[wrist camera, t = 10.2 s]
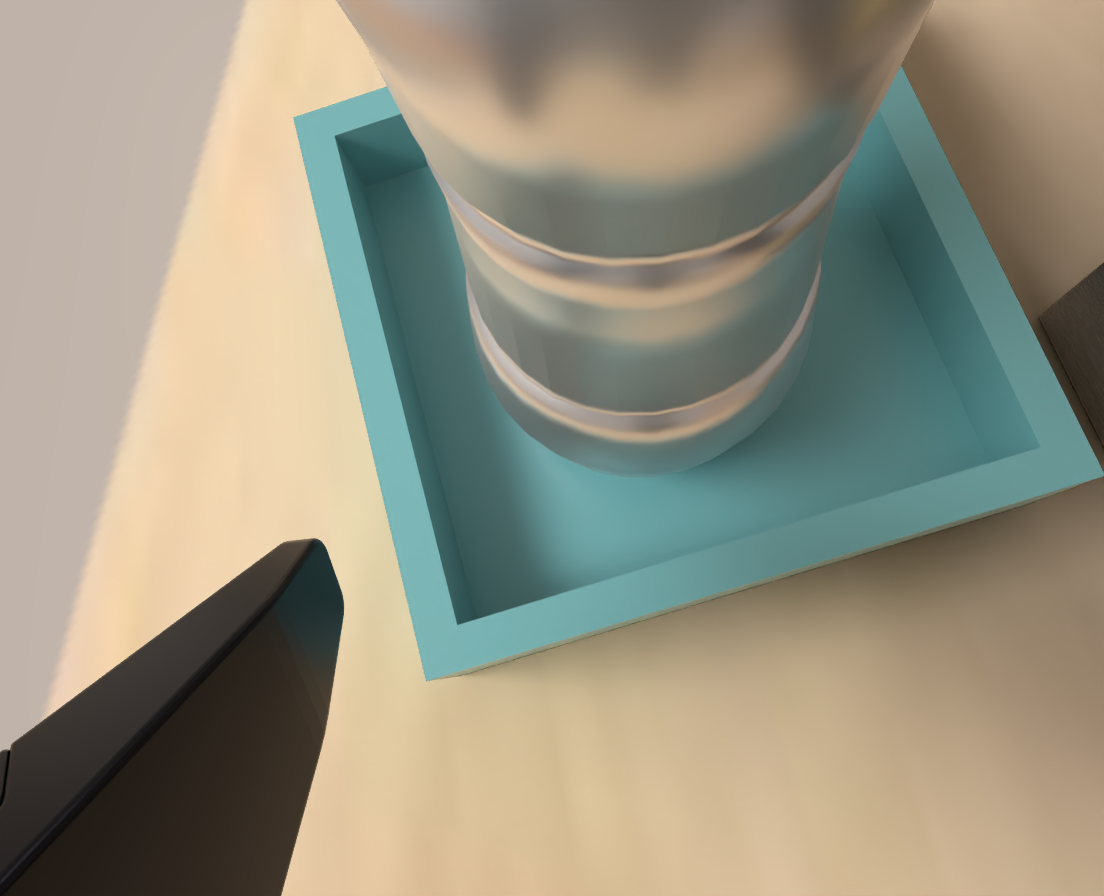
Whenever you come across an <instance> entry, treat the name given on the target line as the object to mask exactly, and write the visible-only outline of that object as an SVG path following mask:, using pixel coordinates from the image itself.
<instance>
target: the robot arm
mask: <svg viewBox="0 0 1104 896" xmlns="http://www.w3.org/2000/svg"><path fill="white" fill-rule="evenodd" d="M343 616H344V600H343V595H342V592H341V589H340V586H339V583H338V580H337V577H336V575H335V572H334V569H333V566H332V563H331V560H330V558H329V555H328V552H327V549H326V547H325V546H324V544H323V543H322V541H320V540H318V539H316V538H313V539H303V540H294V541H286V542H283V543H282V544H280V545H279V546H277V547H276V548H275V549H273V550H272V551H271V552H269V553H268V554H267V555H265V556H264V557H263V558H261V559H260V560H259V561H257V562H256V563H255V564H253V565H252V566H250V567H249V568H248V569H246V570H245V571H244V572H242V573H241V574H240V575H238V576H237V577H236V578H234V579H233V580H232V581H230V582H229V583H228V584H226V585H225V586H224V587H222V588H221V589H220V590H218V591H217V592H215V593H214V594H213V595H211V596H210V597H209V598H207V599H206V600H205V601H203V602H202V603H201V604H199V605H198V606H197V607H195V608H194V609H193V610H191V611H190V612H189V613H187V614H186V615H184V616H183V617H182V618H180V619H179V620H178V621H176V622H175V623H174V624H172V625H171V626H170V627H168V628H167V629H166V630H164V631H163V632H162V633H160V634H159V635H158V636H156V637H155V638H154V639H152V640H151V641H149V642H148V643H147V644H145V645H144V646H143V647H141V648H140V649H139V650H137V651H136V652H135V653H133V654H132V655H131V656H129V657H128V658H127V659H125V660H124V661H123V662H121V663H120V664H118V665H117V666H116V667H114V668H113V669H112V670H110V671H109V672H108V673H106V674H105V675H104V676H102V677H101V678H100V679H98V680H97V681H96V682H94V683H93V684H92V685H90V686H89V687H88V688H86V689H85V690H83V691H82V692H81V693H79V694H78V695H77V696H75V697H74V698H73V699H71V700H70V701H69V702H67V703H66V704H65V705H63V706H62V707H61V708H59V709H58V710H57V711H55V712H54V713H52V714H51V715H50V716H48V717H47V718H46V719H44V720H43V721H42V722H40V723H39V724H38V725H36V726H35V727H34V728H32V729H31V730H30V731H28V732H27V733H26V734H24V735H23V736H22V737H20V738H19V739H17V740H16V741H15V742H14V743H12V745H11V748H10V750H7V749H6V750H3V751H1V752H0V896H281V894H282V891H283V887H284V883H285V880H286V876H287V872H288V869H289V865H290V861H291V858H292V854H293V850H294V847H295V843H296V839H297V836H298V832H299V828H300V825H301V821H302V818H303V814H304V810H305V807H306V803H307V799H308V796H309V792H310V788H311V785H312V781H313V777H314V774H315V770H316V766H317V763H318V759H319V755H320V752H321V748H322V743H323V739H324V735H325V731H326V725H327V720H328V714H329V708H330V701H331V695H332V688H333V682H334V675H335V669H336V662H337V655H338V649H339V642H340V636H341V629H342V623H343Z"/></svg>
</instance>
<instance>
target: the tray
mask: <svg viewBox="0 0 1104 896" xmlns="http://www.w3.org/2000/svg"><path fill="white" fill-rule="evenodd" d="M294 122H295V127H296V131H297V135H298V139H299V144H300V148H301V152H302V156H303V161H304V165H305V169H306V173H307V178H308V182H309V186H310V190H311V195H312V199H313V203H314V207H315V211H316V216H317V220H318V224H319V228H320V233H321V237H322V241H323V245H324V250H325V254H326V258H327V262H328V267H329V271H330V275H331V279H332V284H333V288H334V292H335V296H336V301H337V305H338V309H339V313H340V318H341V322H342V326H343V330H344V335H345V339H346V343H347V347H348V352H349V356H350V360H351V364H352V368H353V373H354V377H355V381H356V385H357V390H358V394H359V398H360V402H361V407H362V411H363V415H364V419H365V424H366V428H367V432H368V436H369V441H370V445H371V449H372V453H373V458H374V462H375V466H376V470H377V475H378V479H379V483H380V487H381V492H382V496H383V500H384V504H385V509H386V513H387V517H388V521H389V525H390V530H391V534H392V538H393V542H394V547H395V551H396V555H397V559H398V564H399V568H400V572H401V576H402V581H403V585H404V589H405V593H406V598H407V602H408V606H409V610H410V615H411V619H412V623H413V627H414V632H415V636H416V640H417V644H418V649H419V653H420V657H421V661H422V666H423V670H424V674H425V678H426V681H431V680H437V679H444V678H450V677H457V676H462V675H465V674H468V673H472V672H475V671H478V670H482V669H485V668H488V667H492V666H495V665H498V664H501V663H505V662H508V661H511V660H515V659H518V658H521V657H525V656H528V655H531V654H534V653H538V652H541V651H544V650H548V649H551V648H554V647H558V646H561V645H564V644H567V643H571V642H574V641H577V640H581V639H584V638H587V637H591V636H594V635H597V634H601V633H604V632H607V631H610V630H614V629H617V628H620V627H624V626H627V625H630V624H634V623H637V622H640V621H643V620H647V619H650V618H653V617H657V616H660V615H663V614H667V613H670V612H673V611H677V610H680V609H683V608H686V607H690V606H693V605H696V604H700V603H703V602H706V601H710V600H713V599H716V598H719V597H723V596H726V595H729V594H733V593H736V592H739V591H743V590H746V589H749V588H753V587H756V586H759V585H762V584H766V583H769V582H772V581H776V580H779V579H782V578H786V577H789V576H792V575H795V574H799V573H802V572H805V571H809V570H812V569H815V568H819V567H822V566H825V565H829V564H832V563H835V562H838V561H842V560H845V559H848V558H852V557H855V556H858V555H862V554H865V553H868V552H871V551H875V550H878V549H881V548H885V547H888V546H891V545H895V544H898V543H901V542H905V541H908V540H911V539H914V538H918V537H921V536H924V535H928V534H931V533H934V532H938V531H941V530H944V529H947V528H951V527H954V526H957V525H961V524H964V523H967V522H971V521H974V520H977V519H980V518H984V517H987V516H990V515H994V514H997V513H1000V512H1004V511H1007V510H1010V509H1014V508H1017V507H1020V506H1023V505H1027V504H1030V503H1033V502H1035V501H1038V500H1041V499H1044V498H1046V497H1049V496H1052V495H1054V494H1057V493H1060V492H1062V491H1065V490H1068V489H1070V488H1073V487H1076V486H1079V485H1081V484H1084V483H1087V482H1089V481H1092V480H1095V479H1097V478H1100V477H1103V476H1104V472H1103V470H1102V468H1101V466H1100V464H1099V462H1098V460H1097V458H1096V456H1095V454H1094V452H1093V450H1092V448H1091V446H1090V444H1089V442H1088V440H1087V438H1086V436H1085V434H1084V432H1083V430H1082V428H1081V426H1080V424H1079V422H1078V420H1077V418H1076V416H1075V414H1074V412H1073V410H1072V408H1071V406H1070V404H1069V402H1068V400H1067V398H1066V396H1065V394H1064V392H1063V390H1062V388H1061V386H1060V384H1059V382H1058V380H1057V378H1056V376H1055V374H1054V372H1053V370H1052V368H1051V366H1050V364H1049V362H1048V360H1047V358H1046V356H1045V354H1044V352H1043V350H1042V348H1041V346H1040V344H1039V342H1038V339H1037V337H1036V335H1035V333H1034V331H1033V329H1032V327H1031V325H1030V323H1029V321H1028V319H1027V317H1026V315H1025V313H1024V311H1023V309H1022V307H1021V305H1020V303H1019V301H1018V299H1017V297H1016V295H1015V293H1014V291H1013V289H1012V287H1011V285H1010V283H1009V281H1008V279H1007V277H1006V275H1005V273H1004V271H1003V269H1002V267H1001V265H1000V263H999V261H998V259H997V257H996V255H995V253H994V251H993V249H992V247H991V245H990V243H989V241H988V239H987V237H986V235H985V233H984V231H983V229H982V227H981V225H980V223H979V221H978V219H977V217H976V215H975V213H974V211H973V209H972V207H971V205H970V203H969V201H968V199H967V197H966V195H965V193H964V191H963V189H962V187H961V185H960V183H959V181H958V179H957V177H956V175H955V173H954V171H953V169H952V167H951V165H950V163H949V161H948V159H947V157H946V155H945V153H944V151H943V149H942V147H941V145H940V143H939V141H938V139H937V137H936V135H935V133H934V131H933V129H932V127H931V125H930V123H929V121H928V119H927V116H926V114H925V112H924V110H923V108H922V106H921V104H920V102H919V100H918V98H917V96H916V94H915V92H914V90H913V88H912V86H911V84H910V82H909V80H908V78H907V76H906V74H905V72H904V70H903V68H902V66H900V68H899V70H898V72H897V74H896V76H895V78H894V80H893V82H892V84H891V86H890V87H889V89H888V91H887V93H886V95H885V97H884V99H883V101H882V103H881V105H880V107H879V109H878V111H877V113H876V114H875V116H874V117H873V119H872V120H871V122H870V123H869V125H868V126H867V128H866V130H865V133H864V135H863V138H862V140H861V143H860V145H859V148H858V149H857V151H856V153H855V155H854V157H853V159H852V161H851V163H850V165H849V167H848V169H847V171H846V172H845V174H844V176H843V180H842V183H841V187H840V190H839V194H838V198H837V201H836V205H835V208H834V212H833V216H832V219H831V223H830V226H829V230H828V233H827V237H826V241H825V244H824V248H823V251H822V255H821V283H820V289H819V295H818V301H817V307H816V313H815V319H814V323H813V328H812V333H811V338H810V343H809V348H808V350H807V353H806V356H805V358H804V361H803V363H802V366H801V368H800V371H799V373H798V376H797V378H796V380H795V382H794V383H793V385H792V386H791V388H790V390H789V391H788V393H787V394H786V396H785V397H784V399H783V400H782V402H781V403H780V405H779V406H778V408H777V409H776V410H775V411H774V412H773V413H772V414H771V415H770V416H769V417H768V418H767V419H766V420H765V421H764V422H763V423H762V424H761V425H760V426H759V427H758V428H757V429H756V430H755V431H754V432H753V433H752V434H751V435H749V436H748V437H746V438H745V439H743V440H742V441H740V442H739V443H737V444H736V445H734V446H733V447H731V448H730V449H728V450H727V451H725V452H724V453H722V454H720V455H718V456H717V457H715V458H713V459H712V460H709V461H707V462H705V463H702V464H700V465H697V466H695V467H692V468H690V469H688V470H685V471H683V472H678V473H672V474H667V475H662V476H657V477H619V476H615V475H610V474H605V473H600V472H596V471H592V470H590V469H587V468H585V467H583V466H581V465H578V464H576V463H574V462H571V461H569V460H567V459H565V458H563V457H561V456H559V455H558V454H556V453H554V452H553V451H551V450H550V449H548V448H547V447H546V446H544V445H543V444H541V443H540V442H538V441H537V440H536V439H534V438H533V437H531V436H530V435H528V434H527V433H526V432H525V431H524V430H523V429H522V428H521V427H520V426H519V425H518V424H517V422H516V421H515V420H514V419H513V418H512V417H511V416H510V415H509V414H508V413H507V412H506V411H505V410H504V408H503V407H502V405H501V403H500V402H499V400H498V398H497V397H496V395H495V393H494V392H493V390H492V389H491V387H490V385H489V384H488V382H487V379H486V377H485V374H484V371H483V368H482V365H481V362H480V360H479V357H478V354H477V351H476V346H475V341H474V336H473V331H472V327H471V322H470V315H469V307H468V300H467V292H466V269H465V266H464V262H463V258H462V255H461V251H460V248H459V244H458V241H457V237H456V234H455V230H454V227H453V223H452V219H451V216H450V212H449V209H448V205H447V202H446V198H445V196H444V194H443V192H442V190H441V188H440V186H439V184H438V182H437V180H436V179H435V177H434V175H433V173H432V171H431V169H430V167H429V165H428V163H427V161H426V158H425V155H424V152H423V150H422V149H421V147H420V146H419V144H418V143H417V141H416V139H415V138H414V136H413V135H412V133H411V131H410V129H409V127H408V125H407V123H406V122H405V120H404V118H403V116H402V114H401V112H400V110H399V108H398V106H397V104H396V102H395V101H394V99H393V97H392V95H391V93H390V91H389V89H388V87H384V88H381V89H378V90H375V91H372V92H369V93H366V94H363V95H360V96H357V97H354V98H351V99H348V100H345V101H342V102H339V103H336V104H333V105H330V106H327V107H324V108H321V109H318V110H315V111H312V112H309V113H306V114H303V115H300V116H297V117H294Z"/></svg>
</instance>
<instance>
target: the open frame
mask: <svg viewBox="0 0 1104 896" xmlns="http://www.w3.org/2000/svg"><path fill="white" fill-rule="evenodd" d="M1039 319H1040V321H1041V323H1042V325H1043V327H1044V329H1045V331H1046V333H1047V335H1048V337H1049V339H1050V341H1051V343H1052V345H1053V347H1054V349H1055V351H1056V353H1057V355H1058V357H1059V359H1060V361H1061V363H1062V365H1063V367H1064V369H1065V371H1066V373H1067V375H1068V377H1069V379H1070V381H1071V383H1072V385H1073V387H1074V389H1075V391H1076V393H1077V395H1078V397H1079V399H1080V401H1081V403H1082V405H1083V407H1084V409H1085V411H1086V413H1087V415H1088V417H1089V419H1090V421H1091V423H1092V425H1093V427H1094V429H1095V431H1096V433H1097V435H1098V437H1099V439H1100V441H1101V443H1102V445H1103V447H1104V263H1103V264H1101V265H1100V266H1099V267H1098V268H1097V269H1095V270H1094V271H1093V272H1092V273H1091V274H1089V275H1088V276H1087V277H1086V278H1085V279H1083V280H1082V281H1081V282H1080V283H1079V284H1077V285H1076V286H1075V287H1074V288H1073V289H1071V290H1070V291H1069V292H1068V293H1067V294H1065V295H1064V296H1063V297H1062V298H1061V299H1059V300H1058V301H1057V302H1056V303H1055V304H1054V305H1052V306H1051V307H1050V308H1049V309H1048V310H1046V311H1045V312H1044V313H1043V314H1042V315H1040V316H1039Z"/></svg>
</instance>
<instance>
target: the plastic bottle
mask: <svg viewBox="0 0 1104 896" xmlns="http://www.w3.org/2000/svg"><path fill="white" fill-rule="evenodd" d="M336 1H337V2H338V4H339V5H340V7H341V8H342V10H343V11H344V13H345V14H346V16H347V17H348V19H349V20H350V22H351V23H352V24H353V26H354V27H355V29H356V30H357V32H358V33H359V35H360V36H361V38H362V39H363V41H364V43H365V45H366V47H367V49H368V51H369V53H370V55H371V57H372V58H373V60H374V62H375V64H376V66H377V68H378V70H379V72H380V74H381V76H382V78H383V79H384V81H385V83H386V85H387V87H388V89H389V91H390V93H391V95H392V97H393V99H394V101H395V102H396V104H397V106H398V108H399V110H400V112H401V114H402V116H403V118H404V120H405V122H406V123H407V125H408V127H409V129H410V131H411V133H412V135H413V136H414V138H415V139H416V141H417V143H418V144H419V146H420V147H421V149H422V150H423V152H424V155H425V158H426V161H427V163H428V165H429V167H430V169H431V171H432V173H433V175H434V177H435V179H436V180H437V182H438V184H439V186H440V188H441V190H442V192H443V194H444V196H445V198H446V202H447V205H448V209H449V212H450V216H451V219H452V223H453V227H454V230H455V234H456V237H457V241H458V244H459V248H460V251H461V255H462V258H463V262H464V266H465V269H466V292H467V300H468V307H469V315H470V322H471V327H472V331H473V336H474V341H475V346H476V351H477V354H478V357H479V360H480V362H481V365H482V368H483V371H484V374H485V377H486V379H487V382H488V384H489V385H490V387H491V389H492V390H493V392H494V393H495V395H496V397H497V398H498V400H499V402H500V403H501V405H502V407H503V408H504V410H505V411H506V412H507V413H508V414H509V415H510V416H511V417H512V418H513V419H514V420H515V421H516V422H517V424H518V425H519V426H520V427H521V428H522V429H523V430H524V431H525V432H526V433H527V434H528V435H530V436H531V437H533V438H534V439H536V440H537V441H538V442H540V443H541V444H543V445H544V446H546V447H547V448H548V449H550V450H551V451H553V452H554V453H556V454H558V455H559V456H561V457H563V458H565V459H567V460H569V461H571V462H574V463H576V464H578V465H581V466H583V467H585V468H587V469H590V470H592V471H596V472H600V473H605V474H610V475H615V476H619V477H657V476H662V475H667V474H672V473H678V472H683V471H685V470H688V469H690V468H692V467H695V466H697V465H700V464H702V463H705V462H707V461H709V460H712V459H713V458H715V457H717V456H718V455H720V454H722V453H724V452H725V451H727V450H728V449H730V448H731V447H733V446H734V445H736V444H737V443H739V442H740V441H742V440H743V439H745V438H746V437H748V436H749V435H751V434H752V433H753V432H754V431H755V430H756V429H757V428H758V427H759V426H760V425H761V424H762V423H763V422H764V421H765V420H766V419H767V418H768V417H769V416H770V415H771V414H772V413H773V412H774V411H775V410H776V409H777V408H778V406H779V405H780V403H781V402H782V400H783V399H784V397H785V396H786V394H787V393H788V391H789V390H790V388H791V386H792V385H793V383H794V382H795V380H796V378H797V376H798V373H799V371H800V368H801V366H802V363H803V361H804V358H805V356H806V353H807V350H808V348H809V343H810V338H811V333H812V328H813V323H814V319H815V313H816V307H817V301H818V295H819V289H820V283H821V255H822V251H823V248H824V244H825V241H826V237H827V233H828V230H829V226H830V223H831V219H832V216H833V212H834V208H835V205H836V201H837V198H838V194H839V190H840V187H841V183H842V180H843V176H844V174H845V172H846V171H847V169H848V167H849V165H850V163H851V161H852V159H853V157H854V155H855V153H856V151H857V149H858V148H859V145H860V143H861V140H862V138H863V135H864V133H865V130H866V128H867V126H868V125H869V123H870V122H871V120H872V119H873V117H874V116H875V114H876V113H877V111H878V109H879V107H880V105H881V103H882V101H883V99H884V97H885V95H886V93H887V91H888V89H889V87H890V86H891V84H892V82H893V80H894V78H895V76H896V74H897V72H898V70H899V68H900V66H901V64H902V62H903V60H904V58H905V56H906V54H907V52H908V51H909V49H910V47H911V45H912V43H913V41H914V39H915V37H916V35H917V33H918V31H919V29H920V27H921V25H922V23H923V21H924V19H925V17H926V16H927V14H928V12H929V10H930V8H931V6H932V4H933V2H934V0H336Z"/></svg>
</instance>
